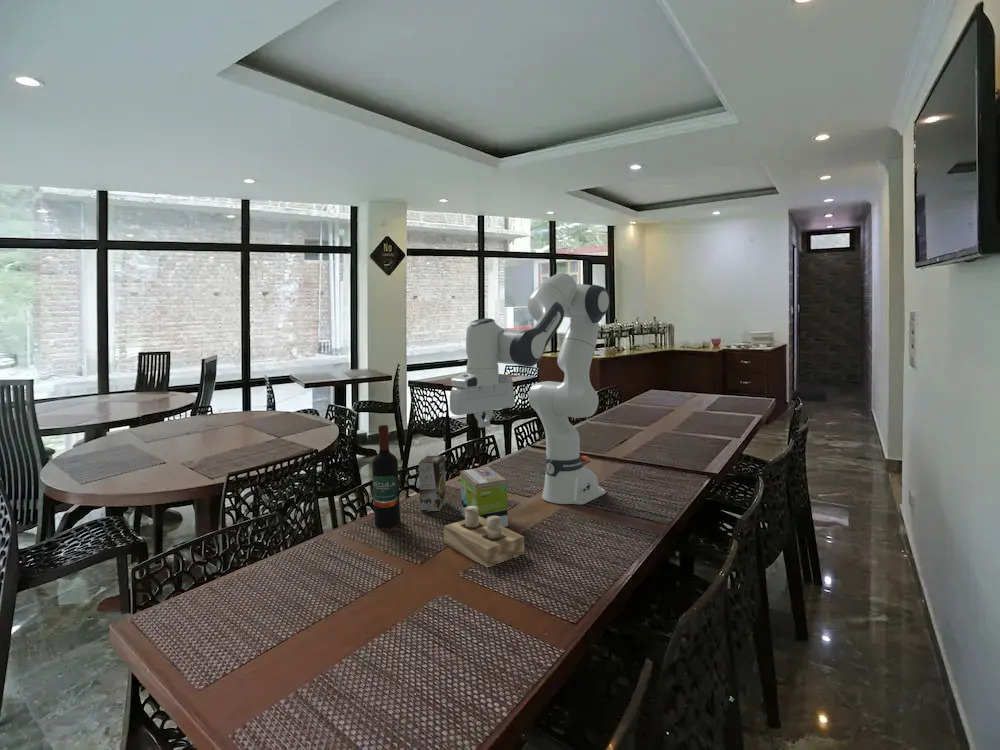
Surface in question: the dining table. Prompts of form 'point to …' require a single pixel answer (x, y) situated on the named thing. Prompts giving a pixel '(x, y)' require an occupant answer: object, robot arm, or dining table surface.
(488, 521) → the birch peg
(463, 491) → the tea box
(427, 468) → the coffee box
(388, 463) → the wine bottle
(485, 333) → the robot arm
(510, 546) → the wooden peg holder
